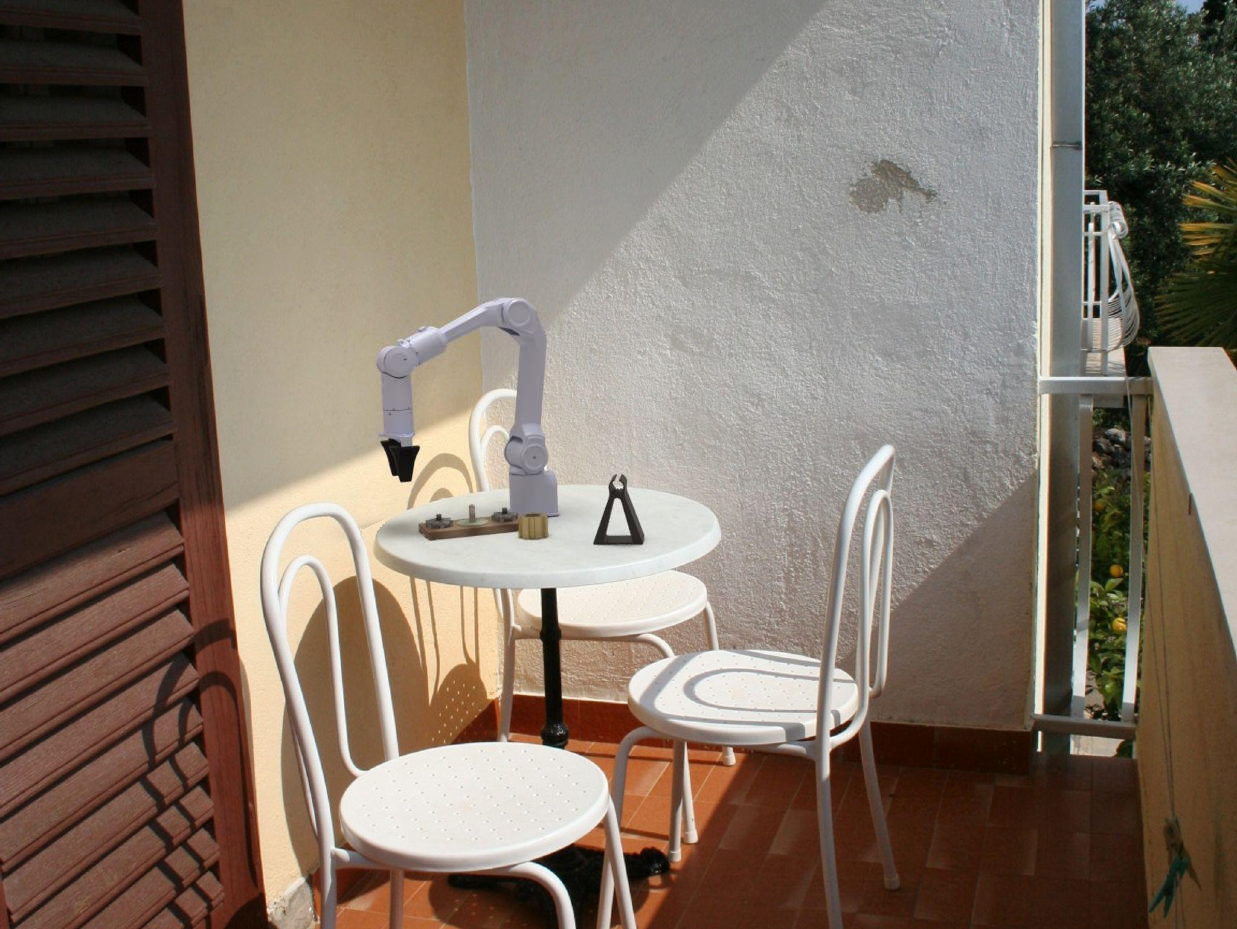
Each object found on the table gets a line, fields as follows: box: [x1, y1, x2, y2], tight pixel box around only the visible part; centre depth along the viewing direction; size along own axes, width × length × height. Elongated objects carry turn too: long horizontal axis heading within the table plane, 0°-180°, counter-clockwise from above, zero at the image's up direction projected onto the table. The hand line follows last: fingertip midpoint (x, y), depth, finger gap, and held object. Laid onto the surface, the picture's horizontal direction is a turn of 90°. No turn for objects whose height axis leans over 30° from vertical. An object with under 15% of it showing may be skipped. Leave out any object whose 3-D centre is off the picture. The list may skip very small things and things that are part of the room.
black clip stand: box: [593, 473, 645, 546], centre depth 225 cm, size 9×6×12 cm, turn 85°
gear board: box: [418, 503, 518, 541], centre depth 236 cm, size 19×9×5 cm, turn 112°
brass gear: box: [517, 512, 549, 540], centre depth 231 cm, size 6×6×4 cm
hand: (401, 478), depth 238 cm, fingers open, 7 cm apart
